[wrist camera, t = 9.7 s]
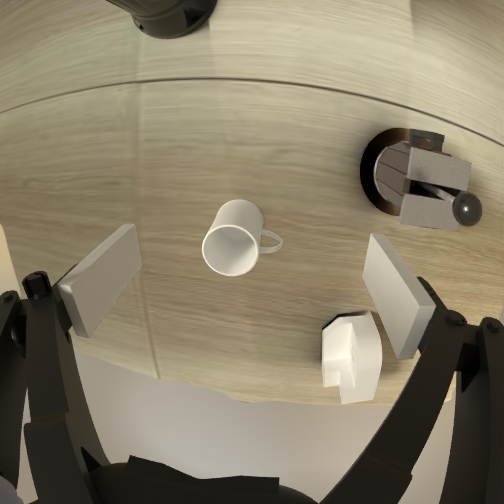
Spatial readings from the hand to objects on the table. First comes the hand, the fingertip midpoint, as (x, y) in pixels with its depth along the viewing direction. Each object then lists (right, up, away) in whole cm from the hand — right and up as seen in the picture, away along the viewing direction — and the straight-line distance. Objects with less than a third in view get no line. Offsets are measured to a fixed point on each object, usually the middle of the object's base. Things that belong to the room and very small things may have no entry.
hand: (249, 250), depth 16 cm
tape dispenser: (+21, -20, +47) cm, 55 cm away
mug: (0, +5, +36) cm, 37 cm away
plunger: (+26, +13, +27) cm, 40 cm away
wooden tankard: (+26, +15, +28) cm, 41 cm away
